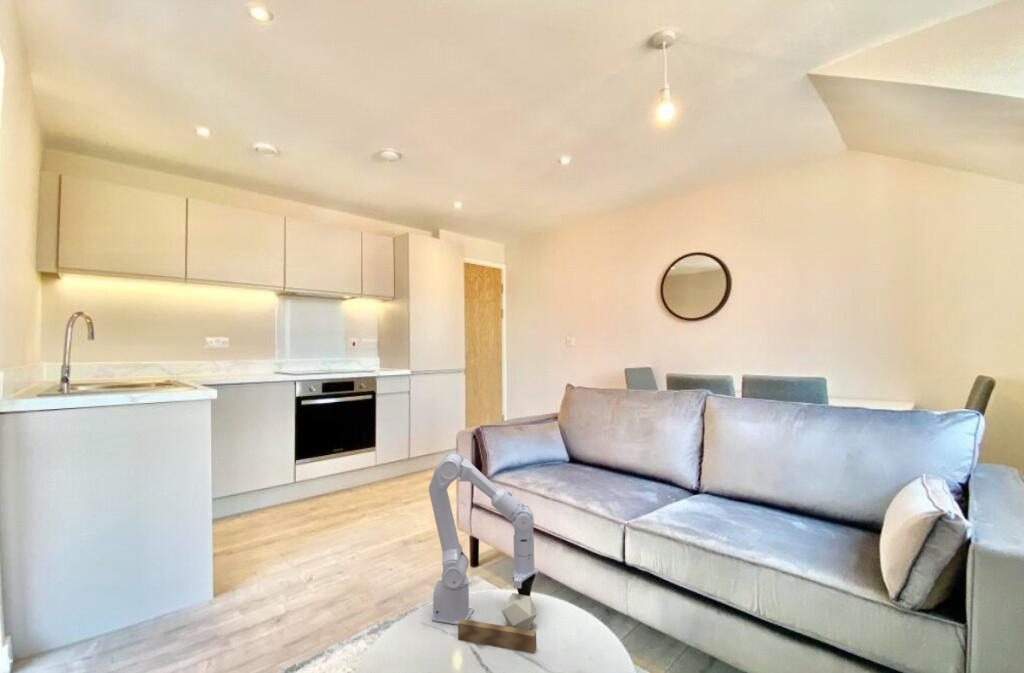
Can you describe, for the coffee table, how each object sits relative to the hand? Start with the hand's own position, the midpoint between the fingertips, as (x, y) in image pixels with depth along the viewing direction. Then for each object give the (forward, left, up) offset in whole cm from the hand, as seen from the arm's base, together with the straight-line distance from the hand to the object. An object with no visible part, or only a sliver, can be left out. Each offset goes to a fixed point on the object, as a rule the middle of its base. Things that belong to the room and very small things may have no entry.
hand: (524, 602), depth 120 cm
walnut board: (-4, -14, -3) cm, 15 cm away
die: (0, -6, -4) cm, 7 cm away
